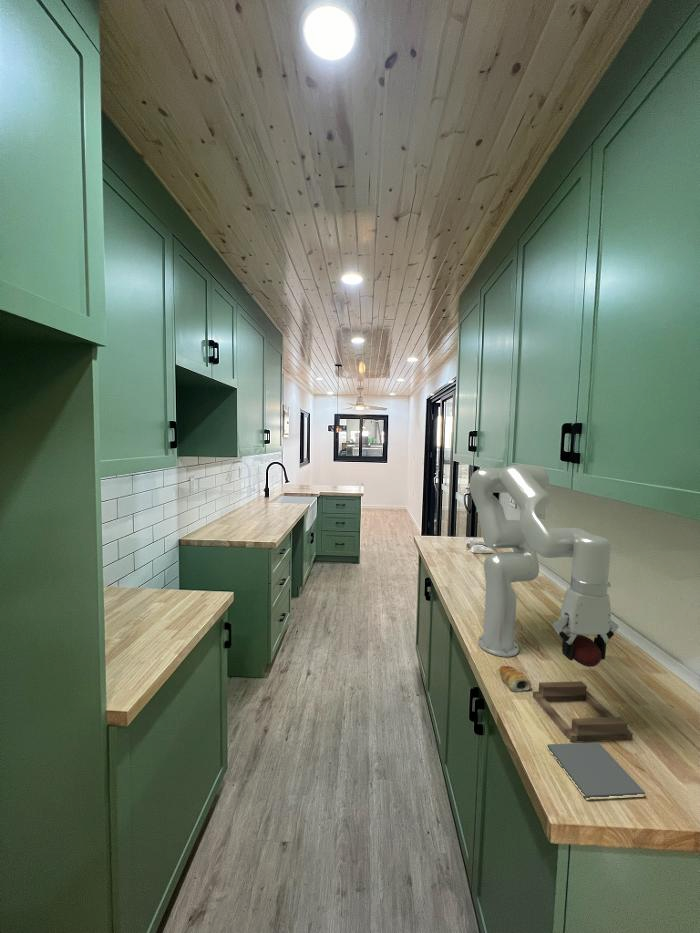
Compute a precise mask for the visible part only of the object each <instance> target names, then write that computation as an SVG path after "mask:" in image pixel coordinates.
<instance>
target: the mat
mask: <svg viewBox="0 0 700 933" xmlns="http://www.w3.org/2000/svg"><path fill="white" fill-rule="evenodd" d="M547 747H548V748H549V750H550V751H551V752H552V753H553V755H554V756H555V757H556V758H557V760H558V761H559V762H560V764H561V765H562V767H563V768H564V769H565V771H566V772H567V773H568V775H569V776H570V777H571V778H572V780H573V781H574V782H575V784H576V785H577V786H578V788H579V789H580V790H581V792H582V793H583V794H584V795H585V797H586V798H590V797H609V796H623V795H637V794H645V795H646V791H644V789H643V788H642V787H641V786H640V785H639V784H638V783H637V781H636V780H634V778H632V777H631V775H630V774H629V773H628V772H627V771H626V770H625V769H624V768H623V767H622V766H621V764H619V763H618V762H617V760H616V759H615V758H614V757H613V756H612V755H611V754H610V752H608V750H606V749H605V748H604V746H603V745H602V744H601V743H600V741H592V742H569V743H553V744H552V743H550V744H549V743H548V744H547ZM549 750H548V751H549ZM550 751H549V752H550Z"/></svg>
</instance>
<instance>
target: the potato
mask: <svg viewBox="0 0 700 933" xmlns="http://www.w3.org/2000/svg"><path fill="white" fill-rule="evenodd" d="M572 644H574V657H573V661H576V662H577V663H578V664H579V665H582V666H584V667H588V668H589V667H590V668H591V667H596V666H597V665H599V664H600V663H601V660H602V659H601V658H602V655H601V650H600V649H599V647H598V646H597V645H596V644H595V643H594V640H592V639H591V638H590V637H588V636H587V635H577V636H576V637H575V639H574V641H573V642H572Z"/></svg>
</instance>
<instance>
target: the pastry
mask: <svg viewBox="0 0 700 933" xmlns="http://www.w3.org/2000/svg"><path fill="white" fill-rule="evenodd" d="M498 671H499V674H500V677H501V681H502V682H503V683H504V684H505V686H506V687H507V688H508V689H509V690H510V691H511V692H515V693H519V692H522V691H523V692H524V691H529V690H531V687H532V684H531V681H530V680H529V679H528V677H527V676H526V675H525V674H524V673H523V672H522V671H519V670H517V668H515V667H512V666H509V665H502V666H500V668H499V669H498Z"/></svg>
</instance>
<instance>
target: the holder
mask: <svg viewBox="0 0 700 933" xmlns="http://www.w3.org/2000/svg"><path fill="white" fill-rule="evenodd" d="M587 689H588V686H587V685H586V684H585V683H584V682H583V681H554V682H553V681H550V682H549V681H545V682H544V681H543V682H542V681H541V682H540V681H539V682H538V691H533V692H532V698H533V699H534V700H535V702H536V703H537V704H538V705H539V706H540V708H543V711H544V713H546V715H547V716H548V717H549V718H550V719H551V721H552V722H553V723H554V724H555V725H556V727H558V729H559V730H560V731H561V733H562V734H563V733H564V734H563V735H564V736H565V737H566V739H567V740H568V739H569V740H570V741H569V740H568V741H569V743H578V742H577V741H585V742H603V741H602V740H610V741H630V740H631V739H632V740H633V735H634V734H633V732H632V731H631V730H630V729H629V728H628V722H627V721H626V720H625V719H624V718H622V717H621V716H615V715H614V714H612V713H611V712H610V711H609V710H608V708H606V707H605V706H604V705H603V704H602V703H601V702H600V701H598V699H596V698H595V696H593V695H592V693H591V692H589V691H588V690H587ZM584 701H585V702H586V703H587V704H588V705H590V706H591V708H593V709H594V710H595V711H596V712H597V713H598V714H599V715H600V717H580V718H579V717H576V718H575V717H574V718H571V727H570V726H569V724H568V723H567V722H566V721H565V720H564V718H562V716H561V715H560V714H559V713H558V712H557V711H556V710H555V709H554V707H553V706H552V705H551V704H550V703H555V702H557V703H558V702H584ZM549 702H550V703H549ZM599 740H601V741H599ZM574 741H575V742H574Z"/></svg>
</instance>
